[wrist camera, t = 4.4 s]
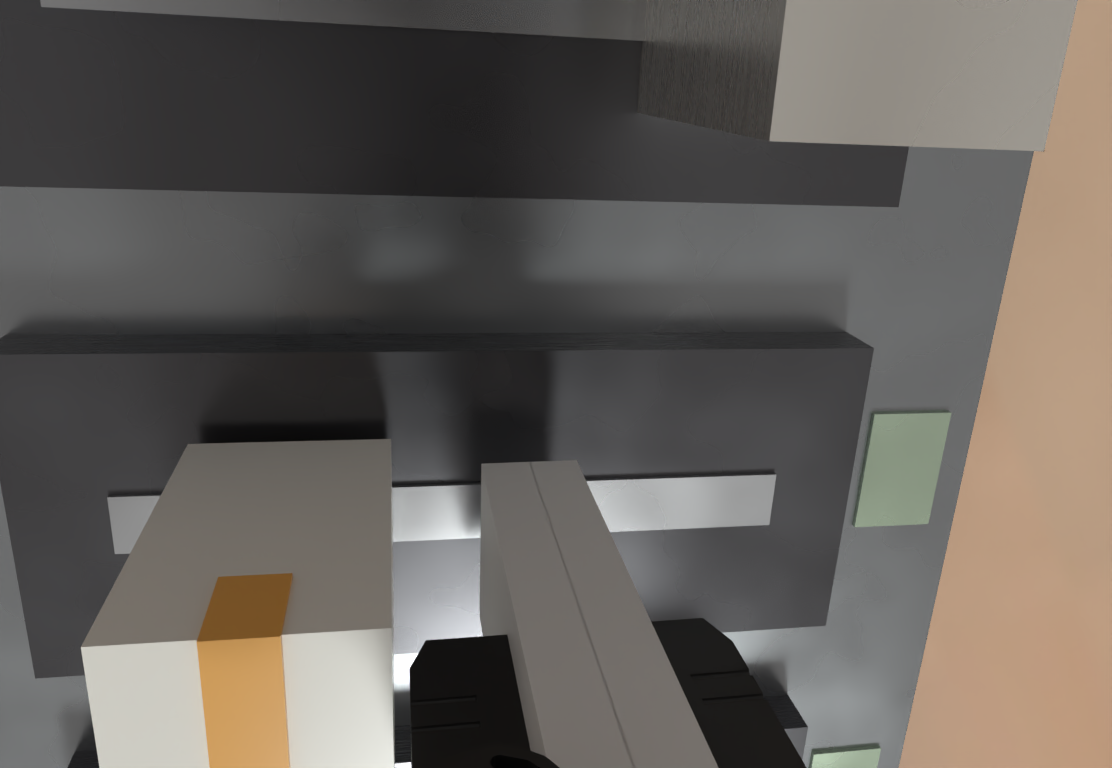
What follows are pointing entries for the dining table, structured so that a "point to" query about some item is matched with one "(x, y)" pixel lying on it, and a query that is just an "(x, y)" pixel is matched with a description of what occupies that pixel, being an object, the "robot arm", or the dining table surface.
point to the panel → (519, 301)
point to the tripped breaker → (254, 615)
